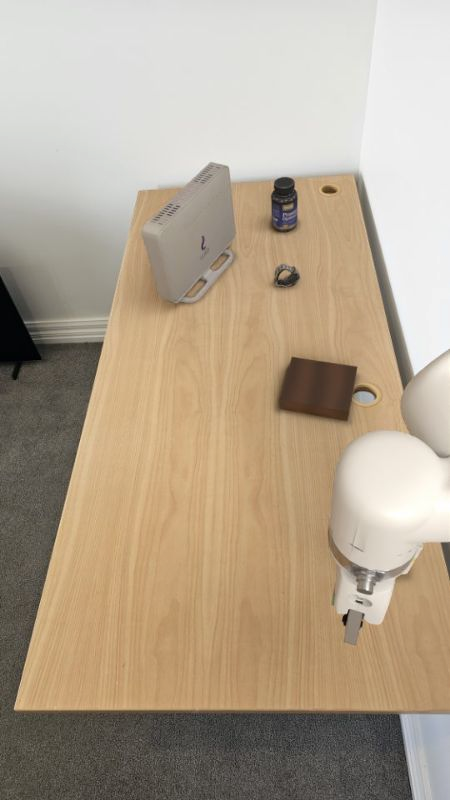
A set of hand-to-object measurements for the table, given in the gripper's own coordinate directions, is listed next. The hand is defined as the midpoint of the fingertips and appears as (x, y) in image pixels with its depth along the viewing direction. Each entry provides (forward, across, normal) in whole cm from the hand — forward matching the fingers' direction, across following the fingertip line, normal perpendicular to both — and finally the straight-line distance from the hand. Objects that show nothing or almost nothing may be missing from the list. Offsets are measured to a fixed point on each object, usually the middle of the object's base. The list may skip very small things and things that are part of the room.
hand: (354, 589), depth 58 cm
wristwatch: (+13, +65, +22) cm, 70 cm away
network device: (+13, +64, +42) cm, 78 cm away
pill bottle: (+14, +85, +28) cm, 90 cm away
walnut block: (+13, +37, +10) cm, 40 cm away
